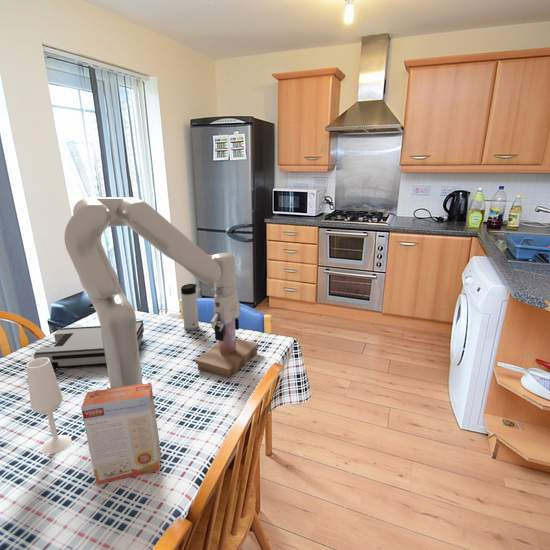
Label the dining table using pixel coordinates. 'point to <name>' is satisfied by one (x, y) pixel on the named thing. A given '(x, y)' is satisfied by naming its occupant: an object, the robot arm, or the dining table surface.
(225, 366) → the brown flat block
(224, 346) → the beverage can
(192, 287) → the travel mug
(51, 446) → the champagne flute
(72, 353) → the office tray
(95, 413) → the cracker box
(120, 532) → the dining table surface
